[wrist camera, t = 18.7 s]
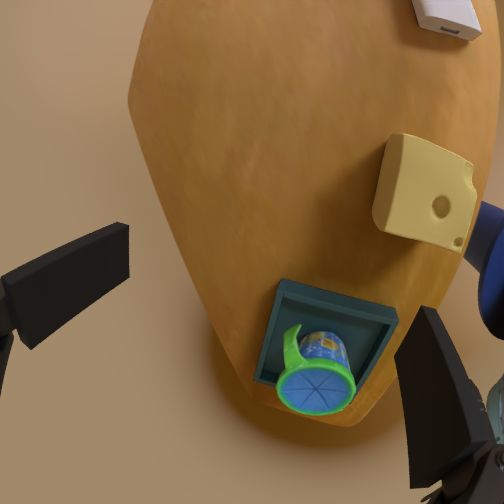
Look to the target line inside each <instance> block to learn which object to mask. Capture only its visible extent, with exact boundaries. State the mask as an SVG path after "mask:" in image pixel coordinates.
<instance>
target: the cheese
mask: <svg viewBox="0 0 504 504" xmlns="http://www.w3.org/2000/svg"><path fill="white" fill-rule="evenodd" d="M473 170H474V166H473V164H472V163H470V162H468V161H466V160H465V159H464V158H462V157H461V156H459V155H457V154H455V153H453V152H450V151H448V150H446V149H444V148H442V147H439V146H437V145H435V144H433V143H431V142H429V141H426V140H424V139H421V138H419V137H415V136H412V135H409V134H404V133H394V134H392V135H391V136H390V138H389V139H388V140H387V142H386V147H385V152H384V156H383V161H382V165H381V170H380V175H379V179H378V184H377V189H376V194H375V198H374V202H373V206H372V210H371V213H372V217H373V220H374V222H375V224H376V226H377V227H378V229H379V230H381V231H383V232H387V233H390V234H394V235H397V236H401V237H405V238H410V239H414V240H418V241H423V242H427V243H430V244H434V245H437V246H440V247H443V248H445V249H448V250H450V251H453V252H456V253H458V254H460V253H461V251H462V249H463V246H464V243H465V240H466V237H467V234H468V231H469V227H470V224H471V220H472V216H473V212H474V208H475V204H476V200H477V192H476V189H475V188H474V187H473V185H472V174H473Z"/></svg>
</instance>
